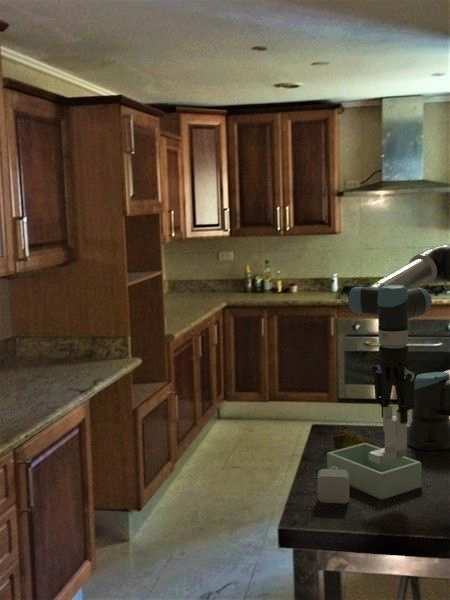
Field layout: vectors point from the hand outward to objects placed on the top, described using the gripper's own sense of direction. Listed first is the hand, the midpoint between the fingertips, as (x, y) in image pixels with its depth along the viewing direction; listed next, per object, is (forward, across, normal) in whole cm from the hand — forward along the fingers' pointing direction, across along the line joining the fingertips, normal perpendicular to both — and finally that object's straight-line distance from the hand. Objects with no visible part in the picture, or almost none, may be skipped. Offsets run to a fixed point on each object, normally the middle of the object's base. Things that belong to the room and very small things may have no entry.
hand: (394, 432), depth 192 cm
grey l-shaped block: (+6, 0, -3) cm, 7 cm away
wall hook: (+18, -10, -12) cm, 24 cm away
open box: (+18, -12, +4) cm, 22 cm away
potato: (+19, -32, +15) cm, 40 cm away
